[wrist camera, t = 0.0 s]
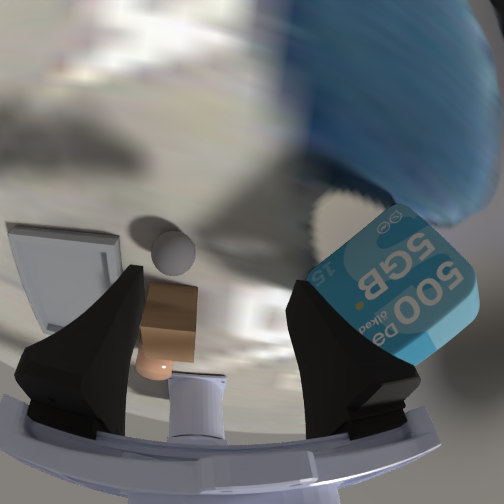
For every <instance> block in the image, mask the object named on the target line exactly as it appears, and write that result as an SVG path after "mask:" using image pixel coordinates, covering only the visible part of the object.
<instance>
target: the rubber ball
mask: <svg viewBox="0 0 504 504" xmlns="http://www.w3.org/2000/svg"><path fill="white" fill-rule="evenodd" d="M151 257H152V261H153V263H154V265H155V267H156V268H157V269H158V270H159V271H160V272H162V273H163V274H166V275H169V276H178V275H181V274H183V273H185V272H186V271H188V270H189V269H190V268H191V266H192V265H193V263H194V260H195V247H194V244H193V242H192V241H191V239H190V238H189V237H188V236H187V235H185V234H184V233H182V232H179V231H168V232H165V233H163V234H161V235H160V236H159V237H158V238H157V239H156V240H155V242H154V244H153V246H152V250H151Z"/></svg>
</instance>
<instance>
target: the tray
mask: <svg viewBox="0 0 504 504" xmlns="http://www.w3.org/2000/svg"><path fill="white" fill-rule="evenodd" d="M8 236H9V240H10V244H11V248H12V251H13V255H14V258H15V261H16V265H17V268H18V271H19V274H20V277H21V280H22V283H23V285H24V288H25V291H26V294H27V296H28V299H29V301H30V304H31V306H32V309H33V311H34V313H35V316H36V318H37V320H38V323H39V325H40V327H41V329H42V331H43V333H46V334H50V335H52V334H54V333H56V332H57V331H59V330H61V329H62V328H64V327H65V326H66V325H68V324H69V323H71V322H72V321H74V320H75V319H76V318H78V317H79V316H80V315H81V314H82V313H84V312H85V311H86V310H87V309H88V308H89V307H91V306H92V305H93V304H94V303H95V302H96V301H97V300H98V299H99V298H100V297H101V296H102V295H103V294H104V293H105V292H106V291H107V290H108V289H109V288H110V286H111V285H112V284H113V283H114V282H115V281H116V280H117V279H118V278H119V277H120V275H121V274H122V263H121V252H120V238H119V236H115V235H105V234H95V233H85V232H75V231H65V230H55V229H45V228H35V227H25V226H15V227H14V228H13V229H12V230H11V231H10V232H9V233H8Z"/></svg>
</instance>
